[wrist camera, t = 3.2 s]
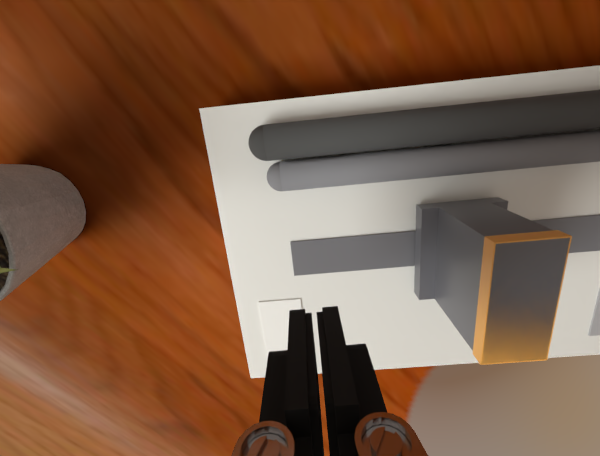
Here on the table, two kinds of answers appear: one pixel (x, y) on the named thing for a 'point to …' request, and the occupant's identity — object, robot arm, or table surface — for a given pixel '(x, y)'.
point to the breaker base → (400, 203)
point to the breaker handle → (491, 276)
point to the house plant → (34, 220)
